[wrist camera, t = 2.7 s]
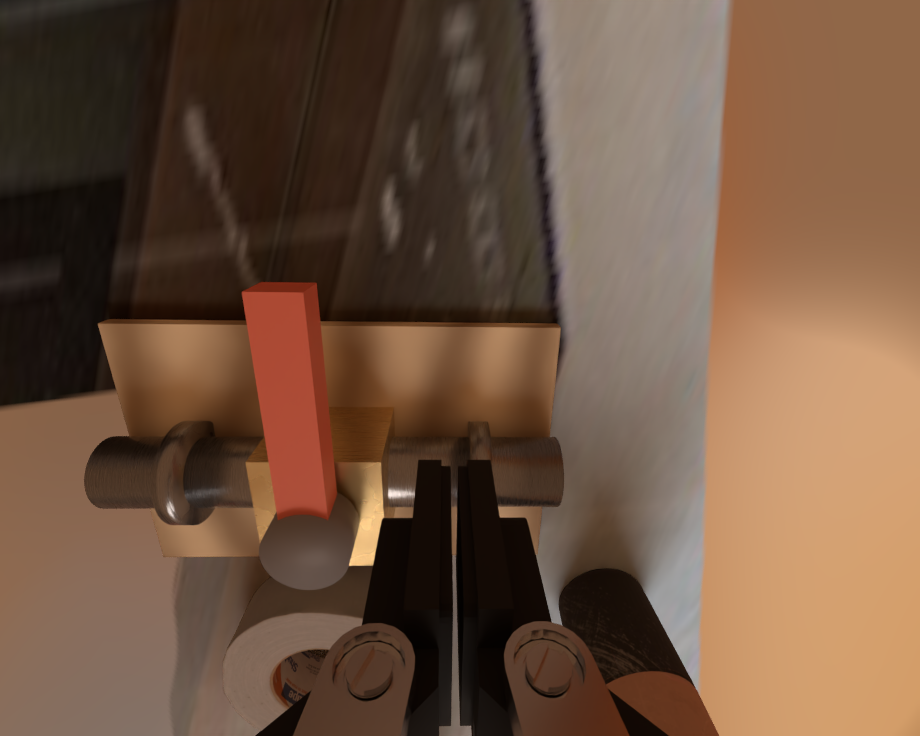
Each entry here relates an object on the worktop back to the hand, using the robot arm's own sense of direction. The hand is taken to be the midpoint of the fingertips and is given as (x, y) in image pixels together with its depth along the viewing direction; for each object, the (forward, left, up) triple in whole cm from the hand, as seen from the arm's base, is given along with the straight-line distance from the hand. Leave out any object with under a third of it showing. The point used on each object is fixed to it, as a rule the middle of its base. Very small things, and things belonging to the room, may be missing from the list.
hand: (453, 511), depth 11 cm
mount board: (-10, +7, -19) cm, 23 cm away
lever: (-5, +7, -12) cm, 14 cm away
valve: (-10, +7, -19) cm, 23 cm away
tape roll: (-28, +9, -20) cm, 35 cm away
